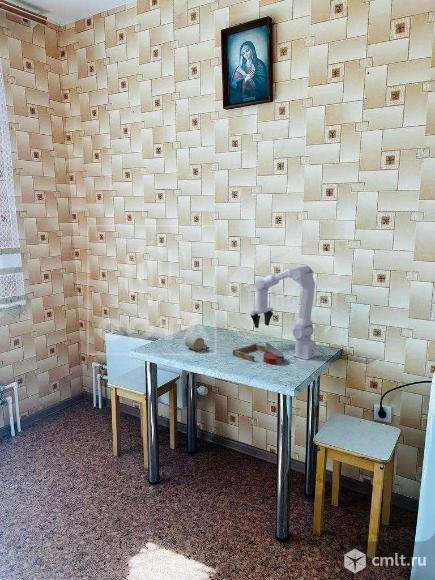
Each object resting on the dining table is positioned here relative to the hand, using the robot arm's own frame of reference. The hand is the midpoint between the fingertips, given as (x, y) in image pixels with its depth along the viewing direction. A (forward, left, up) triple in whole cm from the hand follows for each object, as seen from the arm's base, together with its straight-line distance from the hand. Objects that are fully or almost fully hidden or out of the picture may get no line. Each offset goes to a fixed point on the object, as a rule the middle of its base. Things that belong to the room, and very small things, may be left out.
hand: (261, 326), depth 232 cm
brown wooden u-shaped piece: (-9, +15, -10) cm, 20 cm away
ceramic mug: (+19, +29, -10) cm, 36 cm away
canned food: (-21, +15, -10) cm, 28 cm away
